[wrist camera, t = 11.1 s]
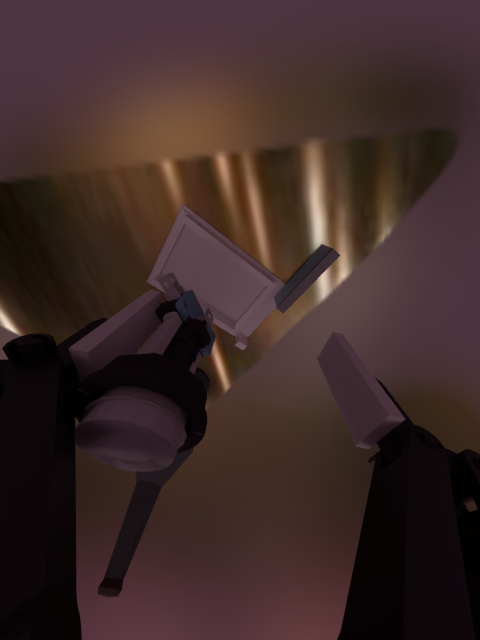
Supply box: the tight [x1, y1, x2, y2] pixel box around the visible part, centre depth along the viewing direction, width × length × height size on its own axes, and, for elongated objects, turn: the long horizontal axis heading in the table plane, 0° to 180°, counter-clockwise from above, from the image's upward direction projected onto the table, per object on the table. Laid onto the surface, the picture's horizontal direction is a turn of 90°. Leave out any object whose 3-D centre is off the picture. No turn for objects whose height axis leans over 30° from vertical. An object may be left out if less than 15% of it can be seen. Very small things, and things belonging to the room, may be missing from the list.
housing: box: [147, 204, 286, 350], centre depth 31 cm, size 22×14×3 cm
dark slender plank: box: [274, 244, 340, 313], centre depth 28 cm, size 1×11×4 cm, turn 144°
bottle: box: [98, 368, 209, 597], centre depth 33 cm, size 10×10×30 cm
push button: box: [70, 272, 215, 472], centre depth 11 cm, size 7×5×10 cm
